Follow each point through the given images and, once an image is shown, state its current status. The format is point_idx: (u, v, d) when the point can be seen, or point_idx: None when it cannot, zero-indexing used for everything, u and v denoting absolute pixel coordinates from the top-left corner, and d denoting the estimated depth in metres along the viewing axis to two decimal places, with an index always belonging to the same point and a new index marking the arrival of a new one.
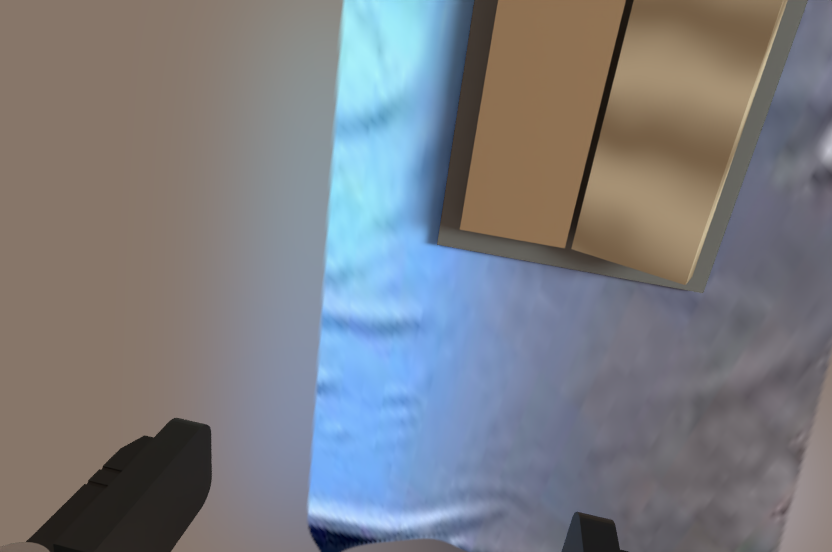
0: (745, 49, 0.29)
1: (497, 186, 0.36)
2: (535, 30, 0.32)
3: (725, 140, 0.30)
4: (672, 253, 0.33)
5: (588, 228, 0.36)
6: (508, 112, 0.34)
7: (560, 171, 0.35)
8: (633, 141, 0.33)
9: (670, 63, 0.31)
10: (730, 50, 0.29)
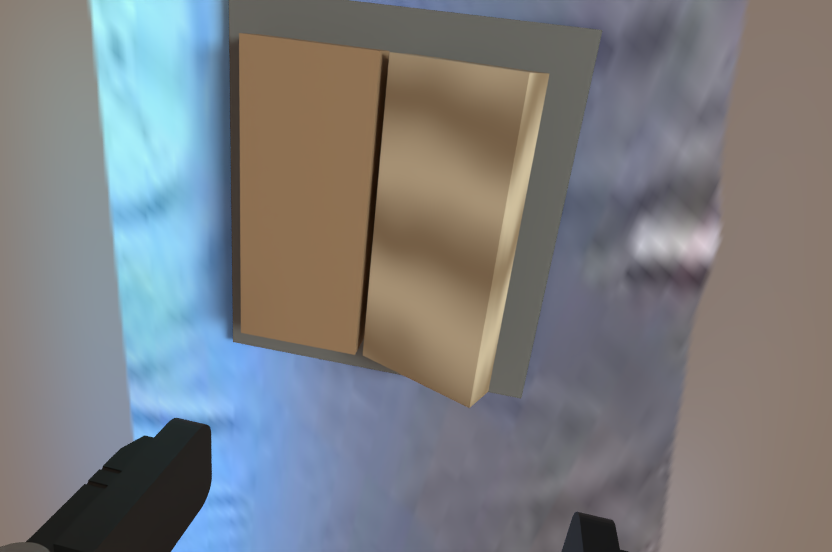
0: (495, 152, 0.24)
1: (272, 288, 0.32)
2: (285, 120, 0.28)
3: (488, 252, 0.26)
4: (454, 372, 0.29)
5: (375, 335, 0.31)
6: (271, 209, 0.30)
7: (336, 273, 0.31)
8: (404, 245, 0.28)
9: (427, 161, 0.26)
10: (481, 152, 0.25)
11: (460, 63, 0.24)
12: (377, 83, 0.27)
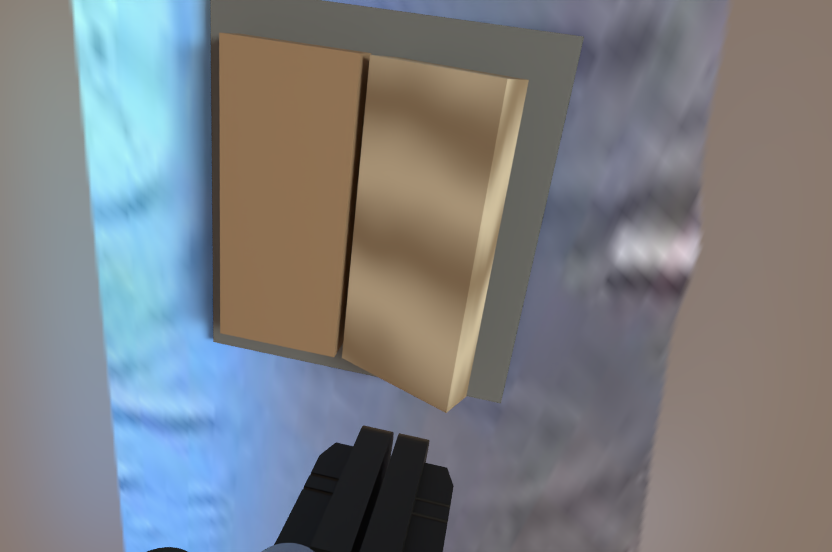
0: (473, 157, 0.24)
1: (252, 289, 0.31)
2: (265, 121, 0.28)
3: (465, 257, 0.26)
4: (431, 376, 0.29)
5: (354, 337, 0.31)
6: (250, 209, 0.30)
7: (316, 275, 0.30)
8: (383, 248, 0.28)
9: (407, 165, 0.26)
10: (459, 157, 0.25)
11: (439, 68, 0.24)
12: (358, 86, 0.26)
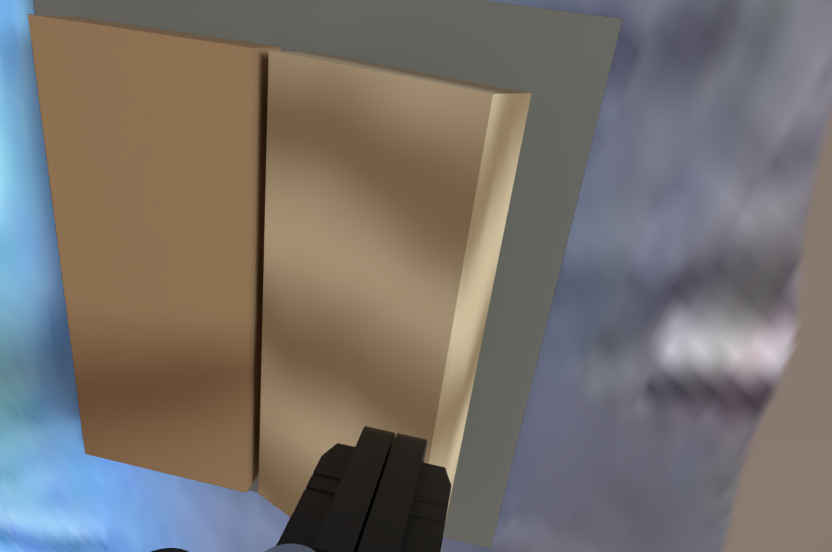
0: (436, 227, 0.14)
1: (122, 397, 0.21)
2: (114, 155, 0.18)
3: (427, 385, 0.16)
4: None
5: (272, 470, 0.21)
6: (107, 287, 0.19)
7: (212, 381, 0.20)
8: (304, 352, 0.18)
9: (332, 231, 0.16)
10: (413, 225, 0.14)
11: (376, 72, 0.14)
12: (253, 100, 0.16)
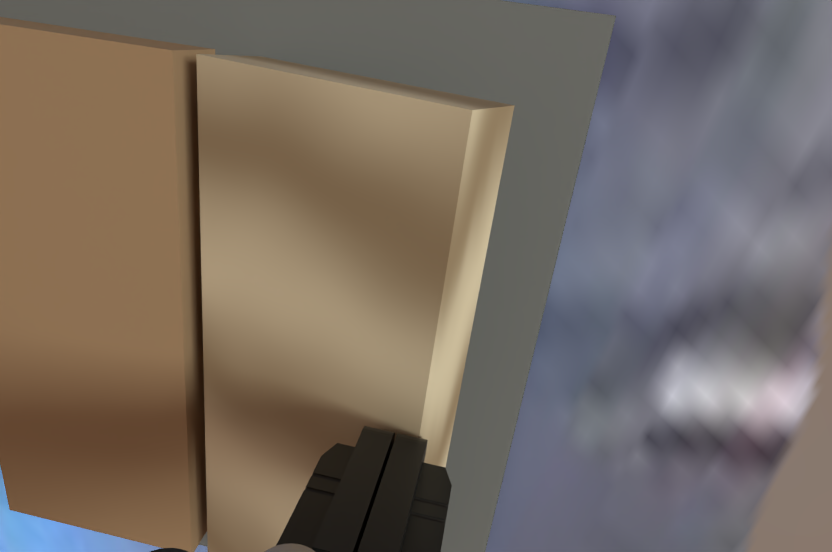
0: (406, 268, 0.12)
1: (46, 449, 0.19)
2: (18, 177, 0.15)
3: None
4: None
5: (222, 534, 0.18)
6: (22, 326, 0.17)
7: (146, 434, 0.18)
8: (254, 406, 0.16)
9: (281, 268, 0.14)
10: (377, 265, 0.12)
11: (328, 82, 0.11)
12: (176, 113, 0.14)
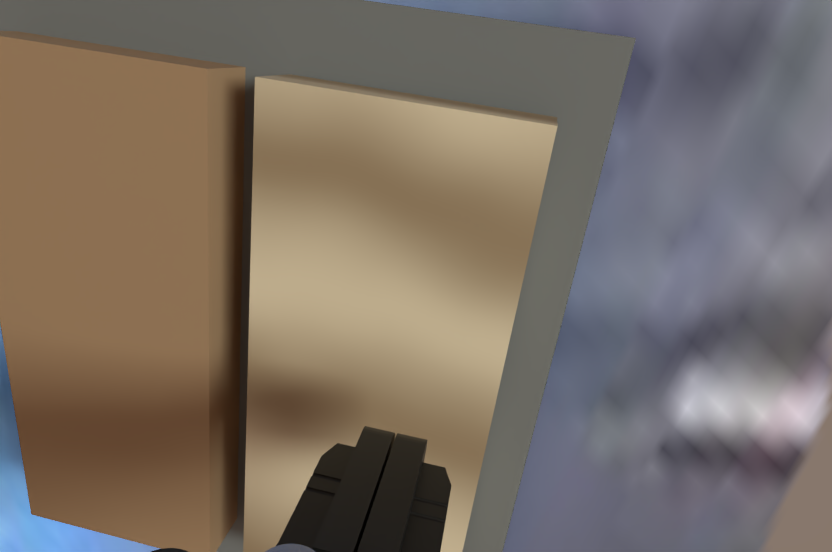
0: (487, 261, 0.14)
1: (70, 454, 0.19)
2: (53, 188, 0.15)
3: (474, 418, 0.15)
4: None
5: (264, 542, 0.19)
6: (51, 334, 0.17)
7: (169, 440, 0.18)
8: (311, 409, 0.16)
9: (351, 275, 0.15)
10: (458, 261, 0.14)
11: (411, 104, 0.13)
12: (209, 128, 0.14)
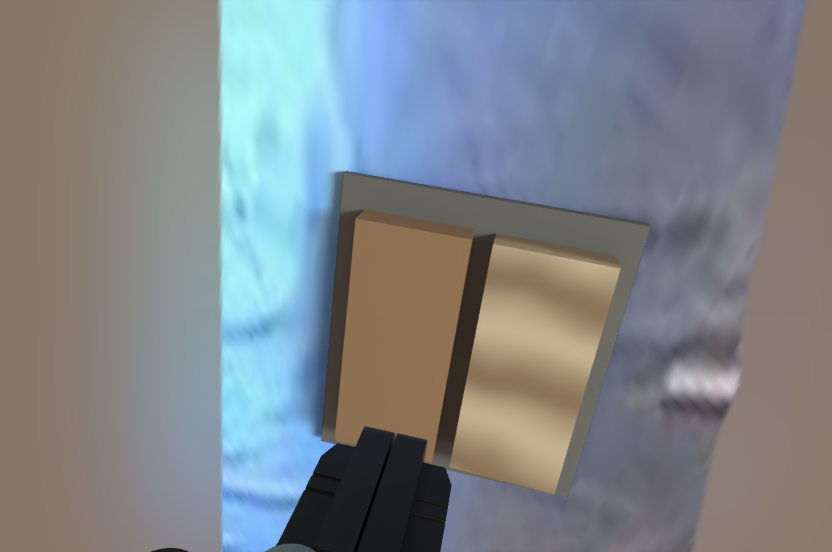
0: (588, 319, 0.32)
1: (365, 407, 0.38)
2: (388, 284, 0.34)
3: (577, 386, 0.34)
4: (541, 471, 0.37)
5: (464, 450, 0.38)
6: (369, 348, 0.36)
7: (421, 399, 0.37)
8: (498, 383, 0.35)
9: (526, 323, 0.33)
10: (575, 318, 0.33)
11: (560, 257, 0.32)
12: (467, 262, 0.33)
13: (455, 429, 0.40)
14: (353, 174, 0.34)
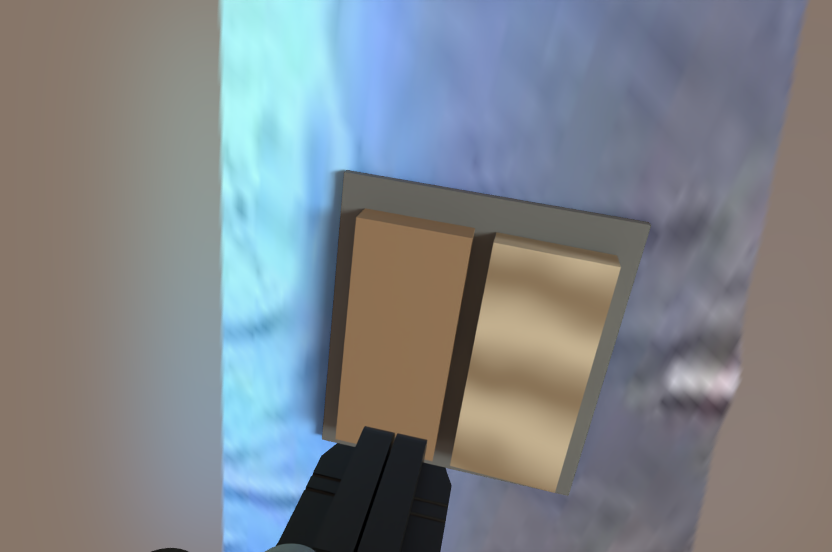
0: (589, 317, 0.33)
1: (366, 406, 0.38)
2: (388, 282, 0.34)
3: (578, 385, 0.34)
4: (541, 469, 0.37)
5: (464, 449, 0.38)
6: (370, 347, 0.36)
7: (422, 398, 0.37)
8: (499, 382, 0.35)
9: (526, 322, 0.33)
10: (576, 317, 0.33)
11: (561, 256, 0.32)
12: (468, 260, 0.33)
13: (455, 428, 0.40)
14: (353, 173, 0.34)
